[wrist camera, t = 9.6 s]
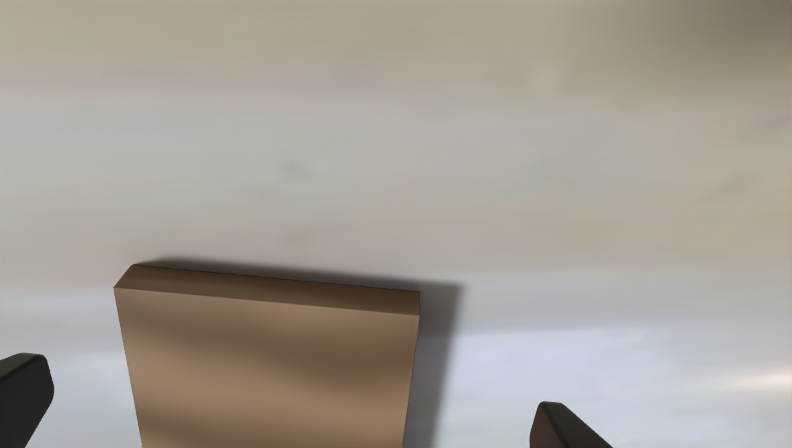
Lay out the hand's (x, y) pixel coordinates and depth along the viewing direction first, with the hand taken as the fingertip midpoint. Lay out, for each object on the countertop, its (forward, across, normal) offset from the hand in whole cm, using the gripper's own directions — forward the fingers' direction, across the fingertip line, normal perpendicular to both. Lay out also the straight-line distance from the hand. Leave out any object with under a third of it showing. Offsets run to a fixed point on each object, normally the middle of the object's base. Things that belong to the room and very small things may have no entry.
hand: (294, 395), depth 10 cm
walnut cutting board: (+12, -3, -14) cm, 19 cm away
